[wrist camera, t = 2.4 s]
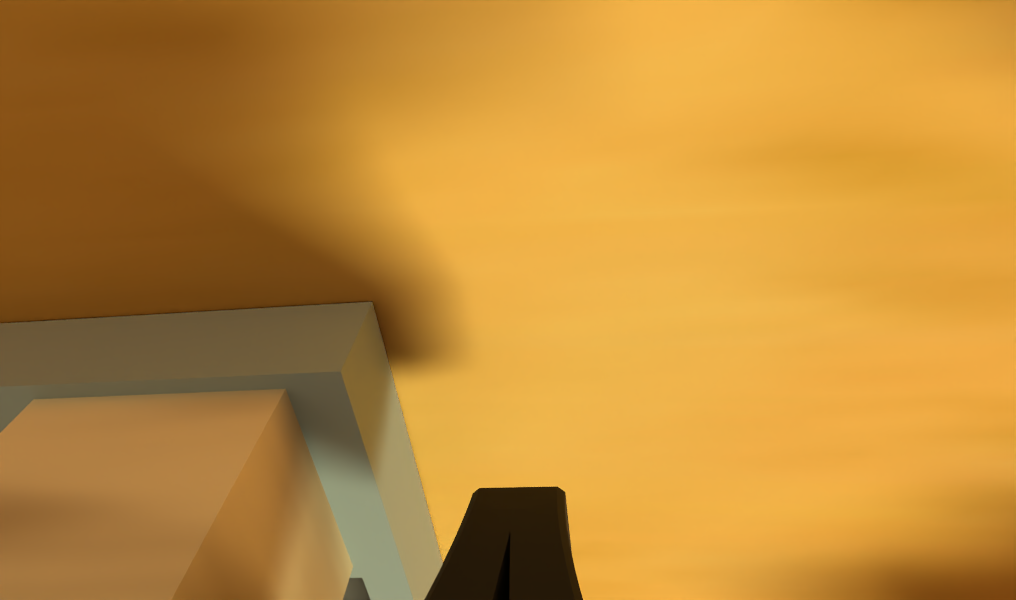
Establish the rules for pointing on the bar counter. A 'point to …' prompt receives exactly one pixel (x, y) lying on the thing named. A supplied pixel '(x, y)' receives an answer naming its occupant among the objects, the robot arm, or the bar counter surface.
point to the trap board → (262, 366)
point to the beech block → (165, 501)
